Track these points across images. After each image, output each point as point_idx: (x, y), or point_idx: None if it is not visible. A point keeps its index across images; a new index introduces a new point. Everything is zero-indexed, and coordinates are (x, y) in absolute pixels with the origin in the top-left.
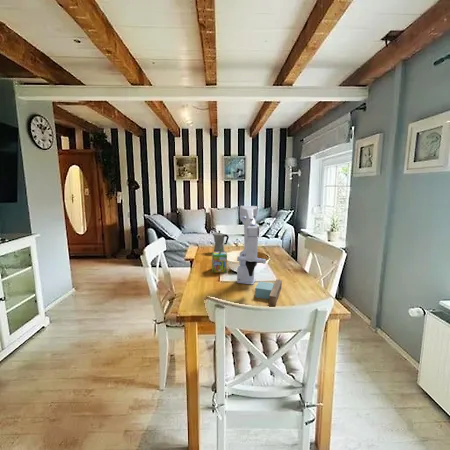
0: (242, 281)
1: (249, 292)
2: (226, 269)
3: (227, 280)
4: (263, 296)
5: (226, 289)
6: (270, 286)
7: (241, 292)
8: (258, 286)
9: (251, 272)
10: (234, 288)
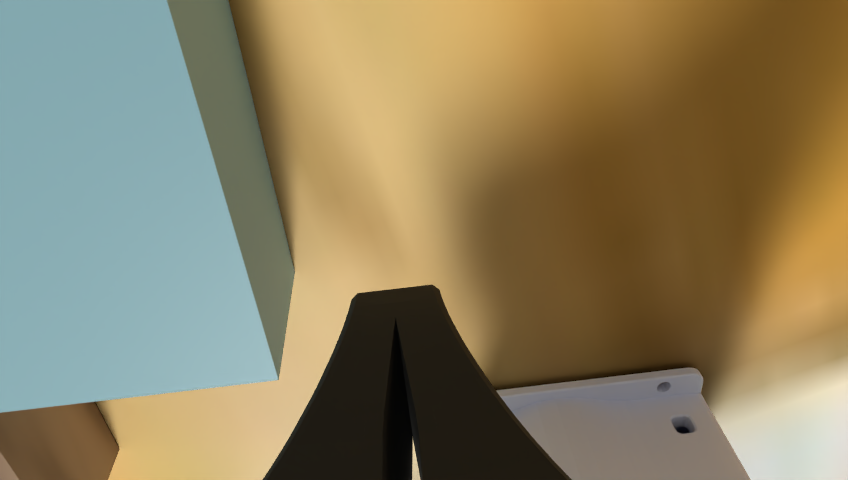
0: (617, 407)
1: (398, 113)
2: None
3: (838, 382)
4: None
5: (837, 55)
6: None
7: (536, 46)
8: (144, 122)
9: (351, 371)
10: (696, 162)
